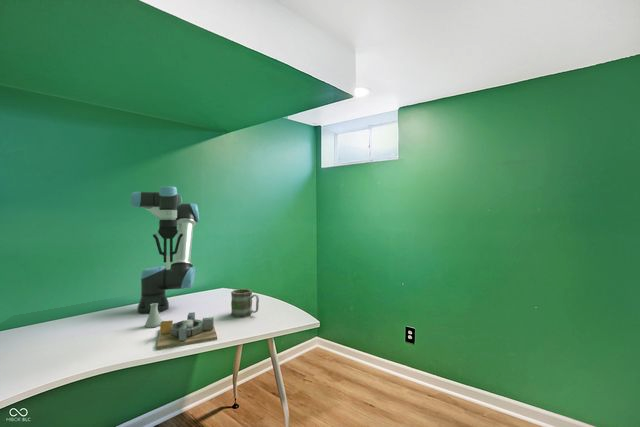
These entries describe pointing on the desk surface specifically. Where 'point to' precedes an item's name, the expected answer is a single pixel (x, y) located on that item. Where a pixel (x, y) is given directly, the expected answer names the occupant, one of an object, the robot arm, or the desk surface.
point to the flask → (153, 317)
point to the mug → (243, 303)
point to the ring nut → (186, 327)
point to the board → (173, 341)
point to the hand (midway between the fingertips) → (168, 269)
